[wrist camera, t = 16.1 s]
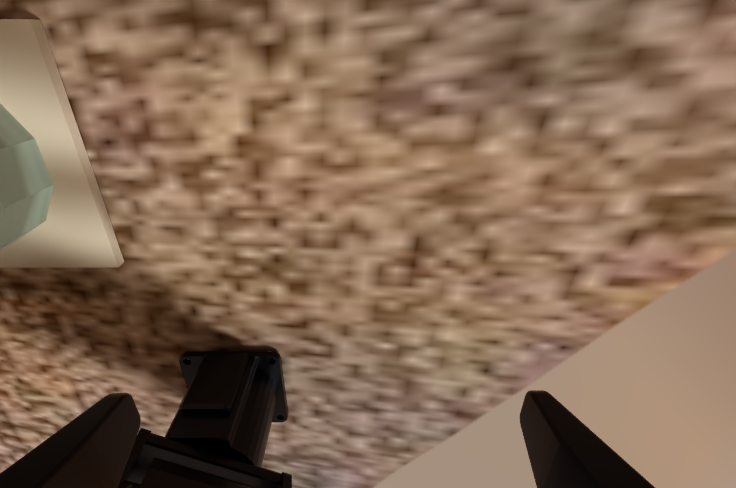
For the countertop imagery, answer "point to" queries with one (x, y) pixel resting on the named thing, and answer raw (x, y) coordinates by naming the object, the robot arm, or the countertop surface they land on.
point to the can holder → (45, 164)
